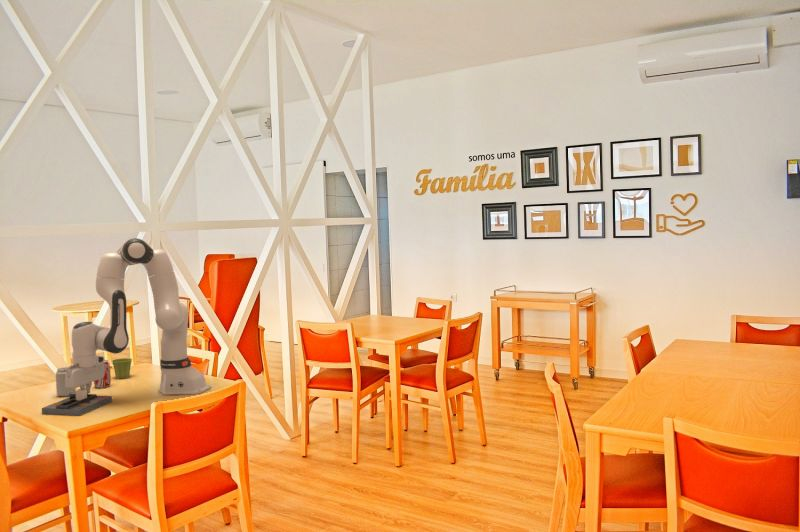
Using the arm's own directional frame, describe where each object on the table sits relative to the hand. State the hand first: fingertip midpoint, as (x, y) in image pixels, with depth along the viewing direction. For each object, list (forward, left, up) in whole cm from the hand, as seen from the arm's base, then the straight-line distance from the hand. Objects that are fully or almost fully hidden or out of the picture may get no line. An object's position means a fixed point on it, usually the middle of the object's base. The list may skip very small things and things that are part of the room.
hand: (86, 394), depth 266 cm
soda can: (+12, -26, -4) cm, 29 cm away
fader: (0, +3, -2) cm, 4 cm away
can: (+19, -12, -4) cm, 22 cm away
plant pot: (+14, -44, -4) cm, 47 cm away
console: (0, +6, -4) cm, 7 cm away
